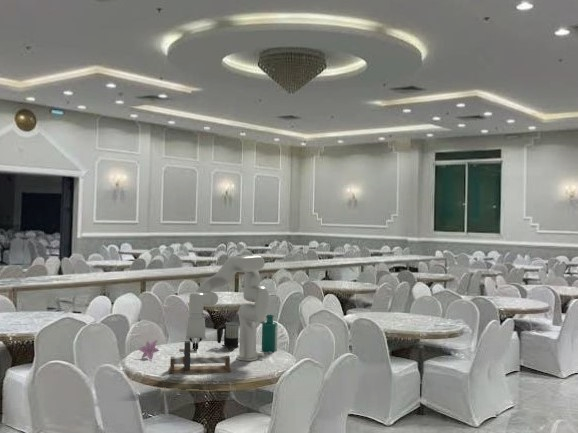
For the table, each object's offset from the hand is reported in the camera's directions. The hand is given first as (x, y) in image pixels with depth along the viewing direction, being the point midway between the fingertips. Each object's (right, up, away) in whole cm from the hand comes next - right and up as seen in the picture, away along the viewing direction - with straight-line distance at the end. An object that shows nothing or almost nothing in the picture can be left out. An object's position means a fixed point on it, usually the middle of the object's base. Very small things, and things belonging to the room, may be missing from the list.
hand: (195, 350), depth 326 cm
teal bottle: (+37, -11, +51) cm, 64 cm away
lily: (-30, -10, +26) cm, 41 cm away
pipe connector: (-8, -11, +23) cm, 27 cm away
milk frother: (+13, -11, +55) cm, 58 cm away
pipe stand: (+2, -11, +1) cm, 11 cm away
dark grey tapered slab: (-4, -9, -1) cm, 10 cm away
